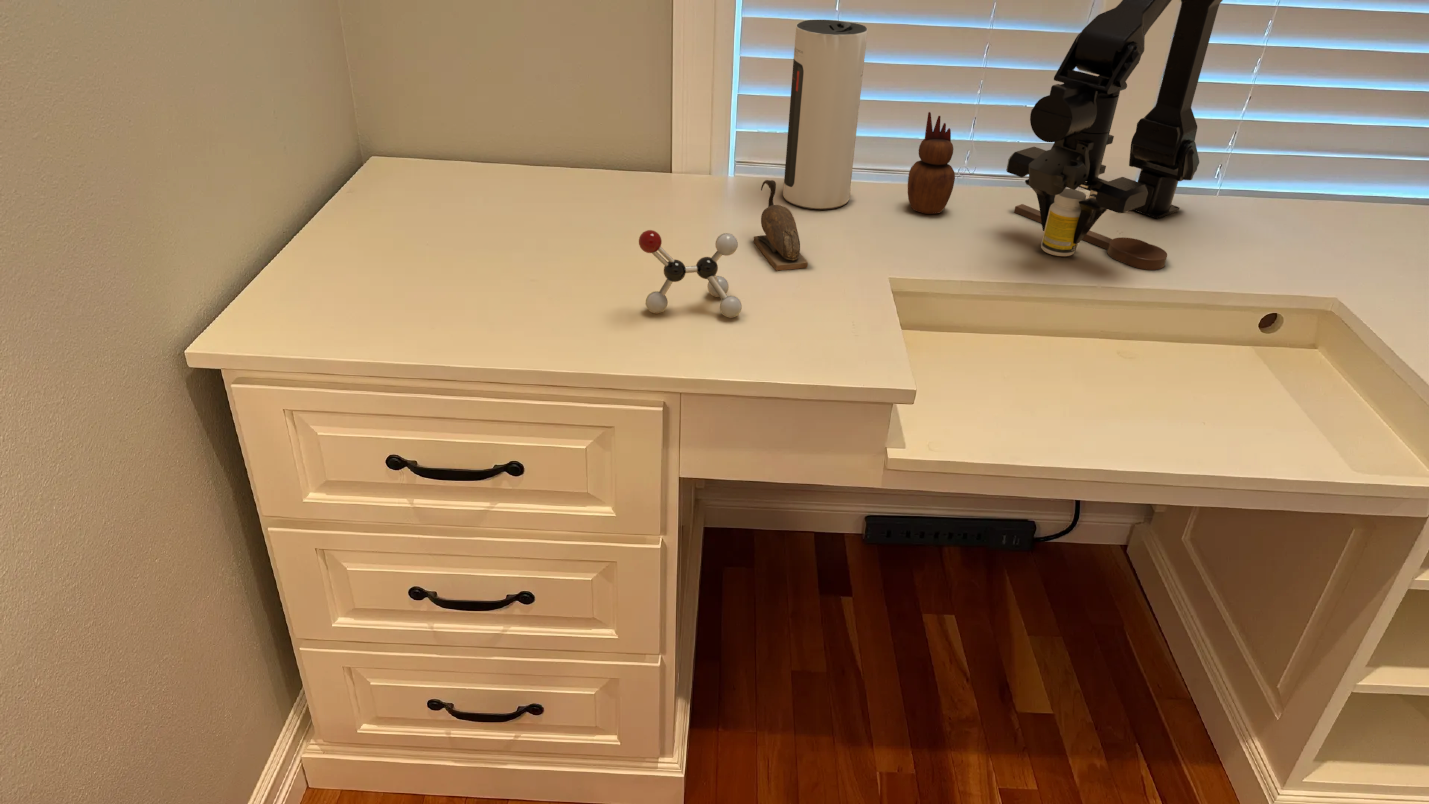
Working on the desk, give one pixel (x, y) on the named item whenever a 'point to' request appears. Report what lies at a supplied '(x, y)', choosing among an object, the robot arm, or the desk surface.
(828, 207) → the speaker
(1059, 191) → the robot arm
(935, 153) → the wooden figurine
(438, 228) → the desk surface
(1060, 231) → the supplement bottle
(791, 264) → the figurine
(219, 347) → the desk surface
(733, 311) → the molecular model
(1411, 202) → the desk surface
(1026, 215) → the wooden spoon
